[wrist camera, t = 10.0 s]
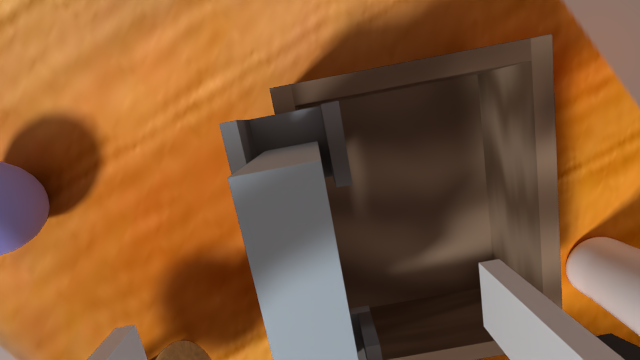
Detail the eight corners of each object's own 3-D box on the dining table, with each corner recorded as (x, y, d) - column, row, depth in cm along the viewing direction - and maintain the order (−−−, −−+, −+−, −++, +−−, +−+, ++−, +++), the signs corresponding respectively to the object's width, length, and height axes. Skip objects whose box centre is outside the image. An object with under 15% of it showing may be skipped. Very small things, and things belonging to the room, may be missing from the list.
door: (249, 153, 18) (200, 183, 10) (317, 141, 18) (320, 160, 10) (298, 363, 21) (289, 515, 13) (357, 353, 21) (384, 498, 13)
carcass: (254, 101, 25) (211, 90, 14) (484, 57, 24) (612, 12, 14) (303, 324, 29) (298, 443, 18) (502, 288, 28) (612, 388, 18)
